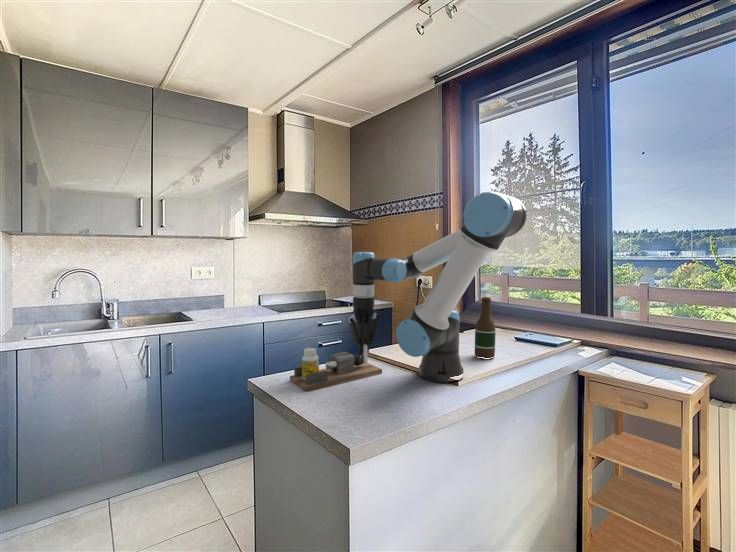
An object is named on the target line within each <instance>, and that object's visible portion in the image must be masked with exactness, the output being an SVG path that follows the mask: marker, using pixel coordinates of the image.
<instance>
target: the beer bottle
mask: <svg viewBox="0 0 736 552" xmlns="http://www.w3.org/2000/svg"><path fill="white" fill-rule="evenodd" d="M480 300H481V305H480V306H481V308H480V315H479V318H478V320H477V321H476V324H475V326H474V327H475V328H474V356H475V355H476V356H478V357H484V358H491V357H494V356H495V355H496V333H497V332H496V329H497V328H496V324H495V321H494V319H493V318H492V314H491V313H492V311H491V310H492V309H491V301H492V298H491V297H489V296H483V297H481V299H480ZM494 358H495V357H494Z"/></svg>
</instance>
